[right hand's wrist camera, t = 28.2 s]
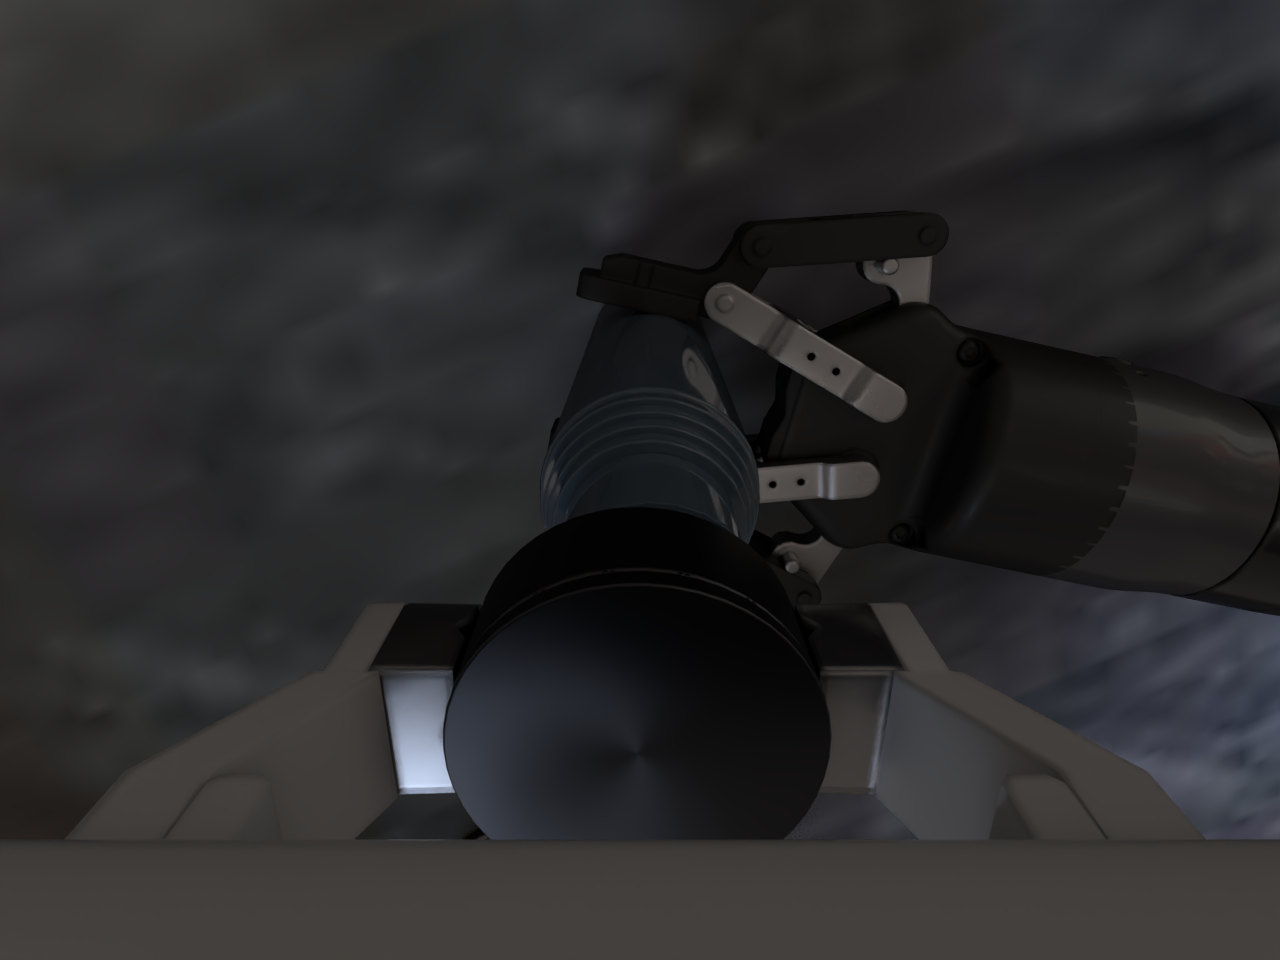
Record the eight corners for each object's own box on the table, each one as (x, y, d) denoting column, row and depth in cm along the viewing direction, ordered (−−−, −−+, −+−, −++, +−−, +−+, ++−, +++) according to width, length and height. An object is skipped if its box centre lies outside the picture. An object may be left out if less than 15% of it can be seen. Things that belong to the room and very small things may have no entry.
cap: (768, 471, 9) (801, 545, 7) (817, 743, 11) (854, 860, 9) (434, 543, 10) (385, 630, 8) (528, 797, 11) (507, 919, 9)
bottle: (697, 395, 31) (783, 752, 12) (591, 388, 31) (496, 734, 12) (708, 287, 30) (829, 486, 10) (596, 279, 30) (496, 464, 10)
